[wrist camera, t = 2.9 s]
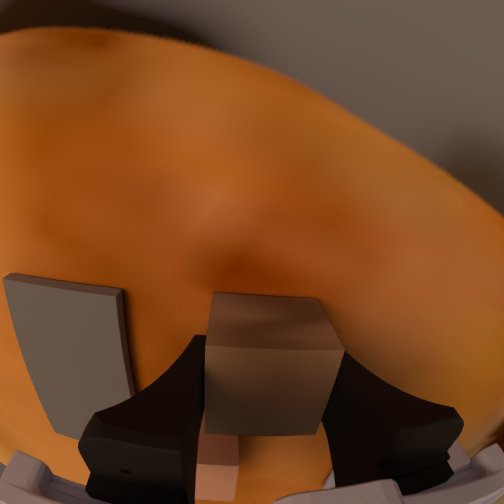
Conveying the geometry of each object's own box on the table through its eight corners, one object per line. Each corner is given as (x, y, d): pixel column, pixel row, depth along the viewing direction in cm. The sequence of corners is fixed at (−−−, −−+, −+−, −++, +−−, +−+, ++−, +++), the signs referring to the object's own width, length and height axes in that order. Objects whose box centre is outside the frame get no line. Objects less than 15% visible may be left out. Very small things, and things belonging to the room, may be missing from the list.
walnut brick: (317, 298, 13) (344, 349, 10) (299, 377, 15) (315, 434, 11) (213, 292, 13) (205, 345, 9) (209, 373, 14) (204, 433, 10)
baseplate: (121, 288, 13) (115, 296, 12) (147, 447, 16) (145, 455, 15) (11, 273, 12) (2, 278, 11) (58, 424, 16) (55, 432, 15)
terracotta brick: (237, 410, 15) (239, 466, 12) (232, 452, 17) (233, 501, 13) (157, 402, 15) (143, 456, 11) (164, 446, 16) (155, 493, 13)
